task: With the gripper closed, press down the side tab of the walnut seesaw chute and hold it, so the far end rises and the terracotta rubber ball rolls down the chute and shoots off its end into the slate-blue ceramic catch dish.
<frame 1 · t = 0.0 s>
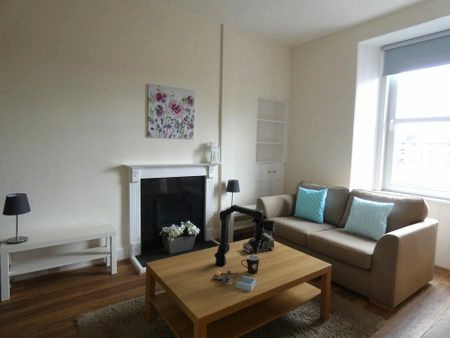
hand: (258, 251, 181), 15 cm above the table, fingers open, 9 cm apart
catch dish: (246, 285, 166), on the table
coffee mug: (250, 271, 185), on the table
lever: (223, 278, 168), point 3 cm above the table, hinge at -15.0°, touching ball
pivot stand: (226, 280, 172), on the table
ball: (218, 273, 174), point 3 cm above the table, tilted 11°, touching lever
toy van: (258, 250, 222), on the table
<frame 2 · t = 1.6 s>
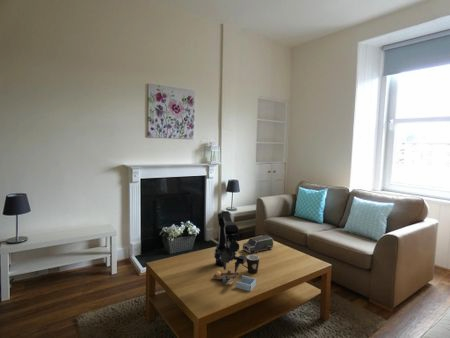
hand: (230, 271, 161), 11 cm above the table, fingers open, 7 cm apart
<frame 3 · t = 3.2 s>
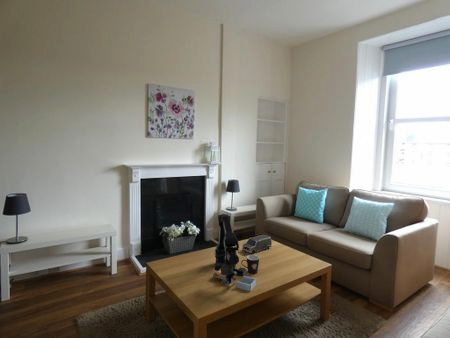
hand: (230, 283, 161), 4 cm above the table, fingers closed, pressing on lever
lever: (223, 278, 168), point 3 cm above the table, hinge at -6.1°, touching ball, gripper
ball: (218, 272, 174), point 4 cm above the table, touching lever
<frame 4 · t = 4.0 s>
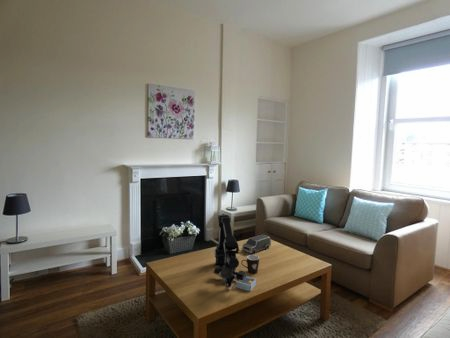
hand: (229, 286, 162), 2 cm above the table, fingers closed
lever: (223, 278, 168), point 3 cm above the table, hinge at 12.0°, touching gripper
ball: (250, 283, 164), point 2 cm above the table, tilted 81°, touching catch dish
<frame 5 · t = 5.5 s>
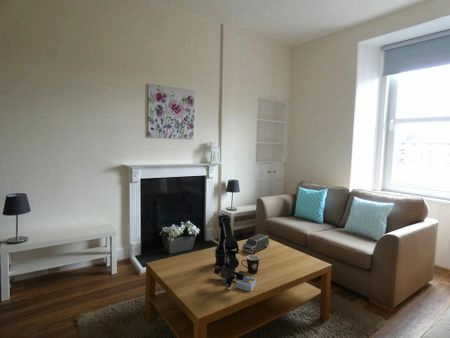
hand: (229, 286, 162), 2 cm above the table, fingers closed
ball: (250, 283, 164), point 2 cm above the table, tilted 130°, touching catch dish
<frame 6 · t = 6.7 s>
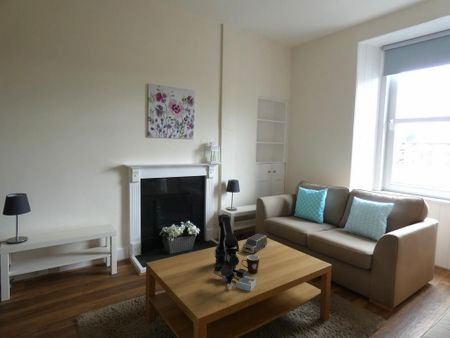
hand: (229, 284, 161), 3 cm above the table, fingers closed
lever: (223, 278, 168), point 3 cm above the table, hinge at 12.1°
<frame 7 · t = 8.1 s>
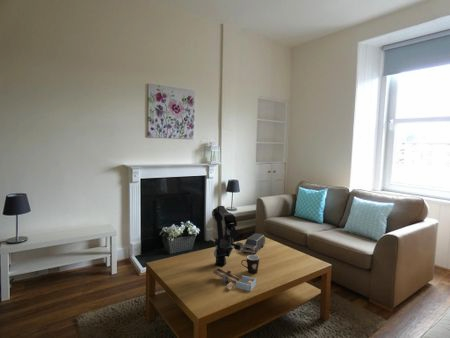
hand: (228, 256, 178), 12 cm above the table, fingers closed
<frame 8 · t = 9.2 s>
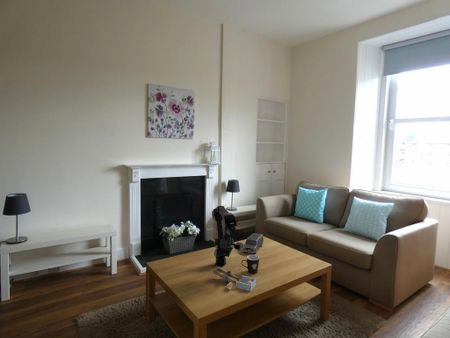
hand: (228, 256, 178), 13 cm above the table, fingers closed
at the end: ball inside the target area on the catch dish (2.3 cm from its centre), point 2.0 cm above the catch dish's base; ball moved 21.2 cm from its start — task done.
